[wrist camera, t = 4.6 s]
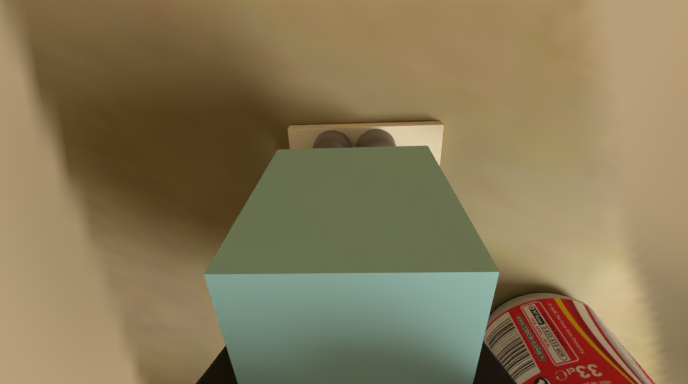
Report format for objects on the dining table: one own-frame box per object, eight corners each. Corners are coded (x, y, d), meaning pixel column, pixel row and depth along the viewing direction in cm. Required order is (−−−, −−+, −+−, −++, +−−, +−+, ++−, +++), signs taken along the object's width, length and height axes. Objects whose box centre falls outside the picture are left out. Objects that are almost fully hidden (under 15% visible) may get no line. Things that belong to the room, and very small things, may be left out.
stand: (427, 258, 19) (439, 298, 16) (305, 259, 19) (297, 298, 16) (440, 121, 15) (459, 142, 12) (289, 125, 15) (275, 147, 13)
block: (277, 149, 10) (203, 274, 5) (427, 145, 10) (498, 271, 5) (307, 357, 15) (283, 528, 10) (409, 358, 15) (437, 532, 10)
